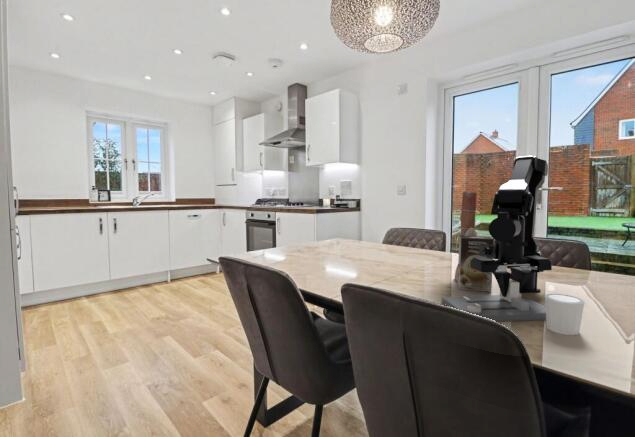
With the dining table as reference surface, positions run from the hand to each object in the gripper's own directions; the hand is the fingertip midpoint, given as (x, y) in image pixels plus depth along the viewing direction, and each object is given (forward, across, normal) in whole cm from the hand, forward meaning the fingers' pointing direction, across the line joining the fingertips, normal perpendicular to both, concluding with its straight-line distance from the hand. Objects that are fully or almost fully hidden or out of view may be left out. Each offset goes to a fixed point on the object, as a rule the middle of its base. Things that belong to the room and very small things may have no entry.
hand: (509, 296), depth 86 cm
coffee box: (+3, 0, -16) cm, 17 cm away
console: (+3, +5, +2) cm, 6 cm away
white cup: (+3, -2, +15) cm, 15 cm away
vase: (+3, -3, -26) cm, 27 cm away
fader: (+1, 0, 0) cm, 1 cm away
